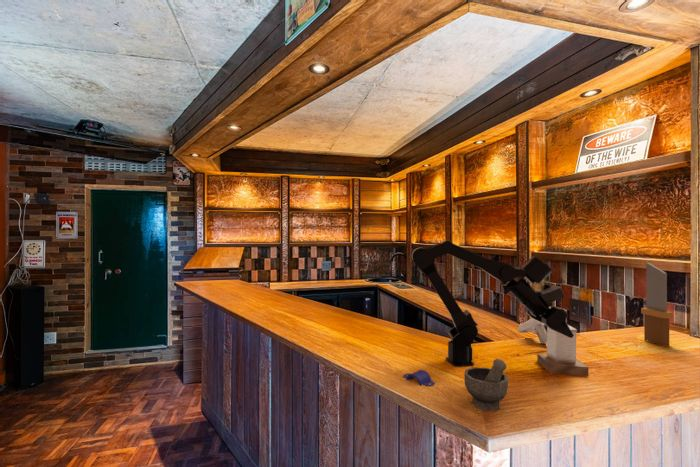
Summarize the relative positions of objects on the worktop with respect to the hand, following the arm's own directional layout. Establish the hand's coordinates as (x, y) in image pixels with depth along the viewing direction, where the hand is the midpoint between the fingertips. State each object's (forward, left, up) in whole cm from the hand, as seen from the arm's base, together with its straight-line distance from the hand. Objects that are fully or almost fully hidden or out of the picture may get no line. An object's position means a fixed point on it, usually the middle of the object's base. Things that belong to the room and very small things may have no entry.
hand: (564, 332), depth 105 cm
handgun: (+13, +29, -11) cm, 34 cm away
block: (-1, 0, -11) cm, 11 cm away
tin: (-1, +1, -8) cm, 8 cm away
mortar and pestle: (-37, -17, -11) cm, 42 cm away
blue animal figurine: (-47, 0, -11) cm, 48 cm away
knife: (+55, +15, -11) cm, 58 cm away
